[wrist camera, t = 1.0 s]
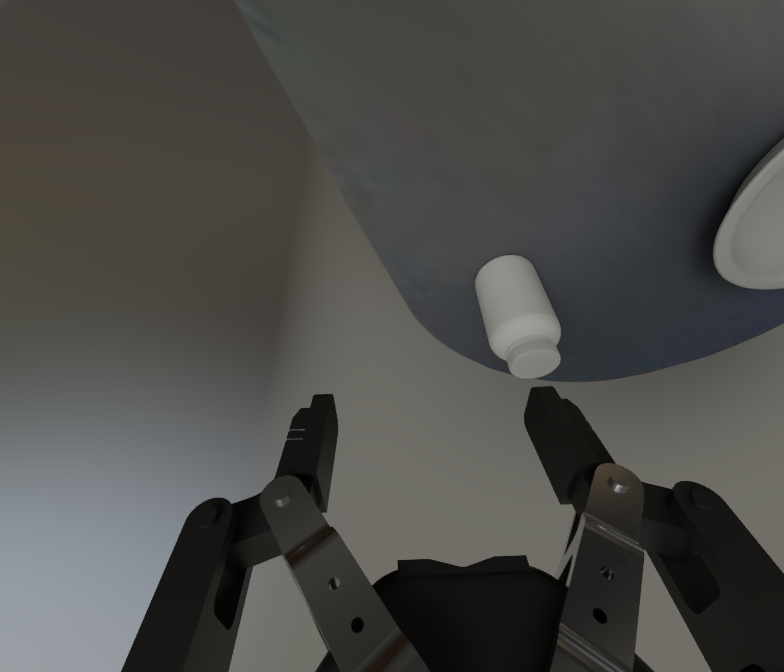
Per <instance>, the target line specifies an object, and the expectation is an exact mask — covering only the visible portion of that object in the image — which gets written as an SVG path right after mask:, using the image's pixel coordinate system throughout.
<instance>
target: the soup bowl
mask: <svg viewBox="0 0 784 672" xmlns="http://www.w3.org/2000/svg"><path fill="white" fill-rule="evenodd" d="M713 261H714V264H715V267H716V269H717V271H718V273H719V274H720V275H721V276H722V277H723V278H724V279H726V280H727V281H729V282H731V283H733V284H735V285H738V286H741V287H745V288H750V289H780V288H784V138H783V139H782V140H780V141H779V142H778V143H777V144H776V145H775V146H774V147H773V148H772V149H771V150H770V151H769V152H768V153H767V154H766V155H765V156H764V157H763V158H762V159H761V160H760V161H759V163H758V164H757V165H756V166H755V167H754V168H753V170H752V171H751V172H750V173H749V175H748V176H747V177H746V179H745V180H744V182H743V183H742V185H741V186H740V188H739V190H738V191H737V193H736V195H735V197H734V199H733V200H732V203H731V205H730V208H729V210H728V212H727V213H726V215H725V217H724V219H723V221H722V222H721V224H720V226H719V229H718V231H717V234H716V237H715V241H714V245H713Z"/></svg>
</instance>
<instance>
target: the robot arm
mask: <svg viewBox="0 0 784 672" xmlns="http://www.w3.org/2000/svg"><path fill="white" fill-rule="evenodd" d="M524 423H525V427H526V430H527V432H528V434H529V436H530V438H531V440H532V443H533V445H534V447H535V449H536V452H537V454H538V456H539V458H540V461H541V463H542V465H543V467H544V469H545V472H546V474H547V476H548V478H549V480H550V482H551V485H552V487H553V489H554V491H555V494H556V496H557V498H558V499H559V502H560V504H572V505H573V507H574V509H575V513H574V516H573V519H572V523H571V526H570V530H569V533H568V537H567V540H566V544H565V548H564V551H563V555H562V558H561V562H560V564H559V567H558V569H557V572H556V575H555V577H553V576H551V575H550V574H548V573H546V572H544V571H542V570H540V569H537V568H535V567H532V566H529V564H528V561H527V557H526V555H522V556H495V557H492V558H489V559H486V560H483V561H481V562H478V563H475V564H472V565H469V566H467V567H459V566H455V565H451V564H447V563H443V562H439V561H435V560H431V559H419V560H418V559H417V560H398V570H396V571H393V572H391V573H389V574H387V575H385V576H383V577H382V578H380V579H379V580H378V581H376V582H375V583H374V584H373V585H371V584H370V582H369V581H368V579H367V578H366V576H365V574H364V573H363V571H362V570H361V568H360V567H359V565H358V563H357V562H356V560H355V559H354V557H353V556H352V554H351V552H350V551H349V550H348V548H347V546H346V545H345V543H344V542H343V540H342V538H341V537H340V535H339V534H338V532H337V531H336V530H335V529H334V528H333V527H330V526H329V524H328V523H327V522H326V520H325V518H324V517H323V515H322V513H324V512H327V506H328V499H329V492H330V485H331V478H332V472H333V464H334V458H335V450H336V444H337V436H338V420H337V413H336V409H335V403H334V396H333V394H318V395H314V396H313V399H312V403H311V407H310V408H301V409H300V410H299V411H298V412H297V414H296V415H295V416H294V417H293V419H292V423H291V425H290V429H289V432H288V436H287V441H286V442H285V446H284V449H283V452H282V456H281V459H280V462H279V466H278V469H277V472H276V475H275V478H274V480H272V481H271V482H270V483H269V484H268V485H267V486H266V487H265V488H264V490H263V491H262V492H261V493H259V494H257V495H256V496H253V497H251V498H248V499H245V500H242V501H239V502H236V503H233V504H231V503H230V502H229V501H228V500H227V499H224V498H212V499H209V500H207V501H204V502H203V503H201V504H200V505H198V506H197V507H196V508H195V509H194V510H193V511H192V512H191V513H190V514H189V516H188V517H187V519H186V521H185V523H184V526H183V528H182V531H181V533H180V535H179V537H178V540H177V542H176V545H175V547H174V549H173V552H172V554H171V556H170V558H169V561H168V563H167V565H166V568H165V570H164V572H163V575H162V577H161V579H160V582H159V584H158V587H157V589H156V591H155V594H154V596H153V598H152V600H151V603H150V605H149V608H148V610H147V612H146V614H145V617H144V619H143V621H142V624H141V627H140V628H139V631H138V633H137V636H136V638H135V640H134V643H133V645H132V647H131V650H130V652H129V654H128V657H127V659H126V661H125V664H124V666H123V668H122V671H121V672H228V671H229V667H230V663H231V658H232V654H233V650H234V645H235V641H236V637H237V633H238V628H239V624H240V620H241V616H242V612H243V607H244V603H245V599H246V595H247V590H248V586H249V581H250V578H251V573H252V569H253V566H255V565H257V564H260V563H262V562H265V561H267V560H270V559H272V558H275V557H277V556H280V555H282V556H283V558H284V560H285V562H286V564H287V566H288V568H289V570H290V573H291V575H292V577H293V579H294V581H295V583H296V585H297V587H298V589H299V591H300V593H301V596H302V598H303V600H304V602H305V604H306V606H307V608H308V610H309V613H310V615H311V617H312V619H313V621H314V623H315V625H316V627H317V630H318V632H319V634H320V636H321V638H322V640H323V642H324V644H325V646H326V649H327V651H328V652H327V654H326V656H325V657H324V659H323V660H322V662H321V663H320V665H319V666H318V668H317V670H316V671H315V672H654V671H653V670H652V669H651V668H650V667H649V666H648V665H647V664H646V663H645V662H644V661H643V660H642V659H641V658H640V657H639V656H638V655H637V654H636V653H635V644H636V635H637V625H638V614H639V604H640V595H641V585H642V574H643V564H644V550H646V551H647V553H648V555H649V557H650V558H651V561H652V562H653V564H654V566H655V568H656V570H657V572H658V573H659V575H660V577H661V579H662V581H663V583H664V584H665V586H666V588H667V590H668V592H669V594H670V595H671V597H672V599H673V601H674V603H675V604H676V606H677V608H678V610H679V612H680V614H681V616H682V617H683V619H684V621H685V623H686V625H687V627H688V628H689V630H690V632H691V634H692V636H693V638H694V640H695V641H696V643H697V645H698V647H699V648H700V650H701V652H702V654H703V656H704V658H705V660H706V662H707V663H708V665H709V667H710V669H711V671H712V672H784V574H783V572H782V571H781V570H780V569H779V567H778V566H777V565H776V564H775V563H774V562H773V560H772V559H771V558H770V556H769V555H768V554H767V553H766V552H765V550H764V549H763V548H762V547H761V545H760V544H759V543H758V542H757V540H756V539H755V538H754V537H753V536H752V534H751V533H750V532H749V531H748V529H747V528H746V527H745V526H744V525H743V523H742V522H741V521H740V520H739V518H738V517H737V516H736V515H735V514H734V512H733V511H732V510H731V509H730V507H729V506H728V505H727V504H726V502H725V501H724V500H723V499H722V498H721V497H720V496H719V495H718V494H716V493H715V492H714V491H712V490H710V489H709V488H707V487H705V486H703V485H700V484H698V483H695V482H691V481H681V482H678V483H676V484H675V485H674V487H673V488H672V489H669V488H665V487H661V486H656V485H652V484H648V483H644V482H641V481H640V480H639V478H638V477H637V476H636V475H635V474H634V473H632V472H631V471H630V470H628V469H626V468H624V467H622V466H620V465H617V464H615V462H614V460H613V459H612V457H611V456H610V454H609V453H608V451H607V450H606V448H605V447H604V445H603V444H602V442H601V441H600V439H599V438H598V436H597V435H596V433H595V432H594V430H592V427H591V426H590V424H589V423H588V422H587V421H586V418H585V417H584V415H583V414H582V412H581V411H580V409H579V408H578V407H577V406H576V405H574V404H573V403H572V402H570V401H569V400H568V399H561V398H560V396H559V395H558V393H557V391H556V390H555V388H554V387H552V386H547V387H546V386H545V387H532V388H531V390H530V394H529V398H528V401H527V406H526V409H525V413H524Z"/></svg>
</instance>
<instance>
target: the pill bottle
mask: <svg viewBox="0 0 784 672" xmlns="http://www.w3.org/2000/svg"><path fill="white" fill-rule="evenodd" d="M475 287H476V292H477V296H478V300H479V304H480V308H481V312H482V316H483V320H484V324H485V328H486V332H487V336H488V340H489V344H490V347H491V349H492V350H493V352H494V353H495V354H496V355H497V356H498V357H500V358H501V359H503V360H506V361H507V363H508V366H509V370H510V372H511V373H512V374H513V375H514V376H516V377H519V378H523V379H532V378H538V377H542V376H544V375H547V374H549V373H551V372H552V371H553V370H555V369H556V368H557V367H558V365H559V363H560V360H561V357H560V354H559V352H558V350H557V347H556V345H557V344H558V342H559V340H560V336H561V327H560V324H559V321H558V319H557V317H556V314H555V312H554V310H553V308H552V306H551V303H550V301H549V299H548V297H547V295H546V292H545V290H544V288H543V286H542V284H541V281H540V279H539V277H538V275H537V273H536V270H535V268H534V267H533V265H532V264H531V263H530V261H528V260H527V259H525V258H524V257H521V256H517V255H505V256H501V257H498V258H495V259H493V260H491V261H490V262H488V263H487V264H485V265H484V266H483V267H482V268H481V270H480V271H479V273H478V275H477V277H476V281H475Z"/></svg>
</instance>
